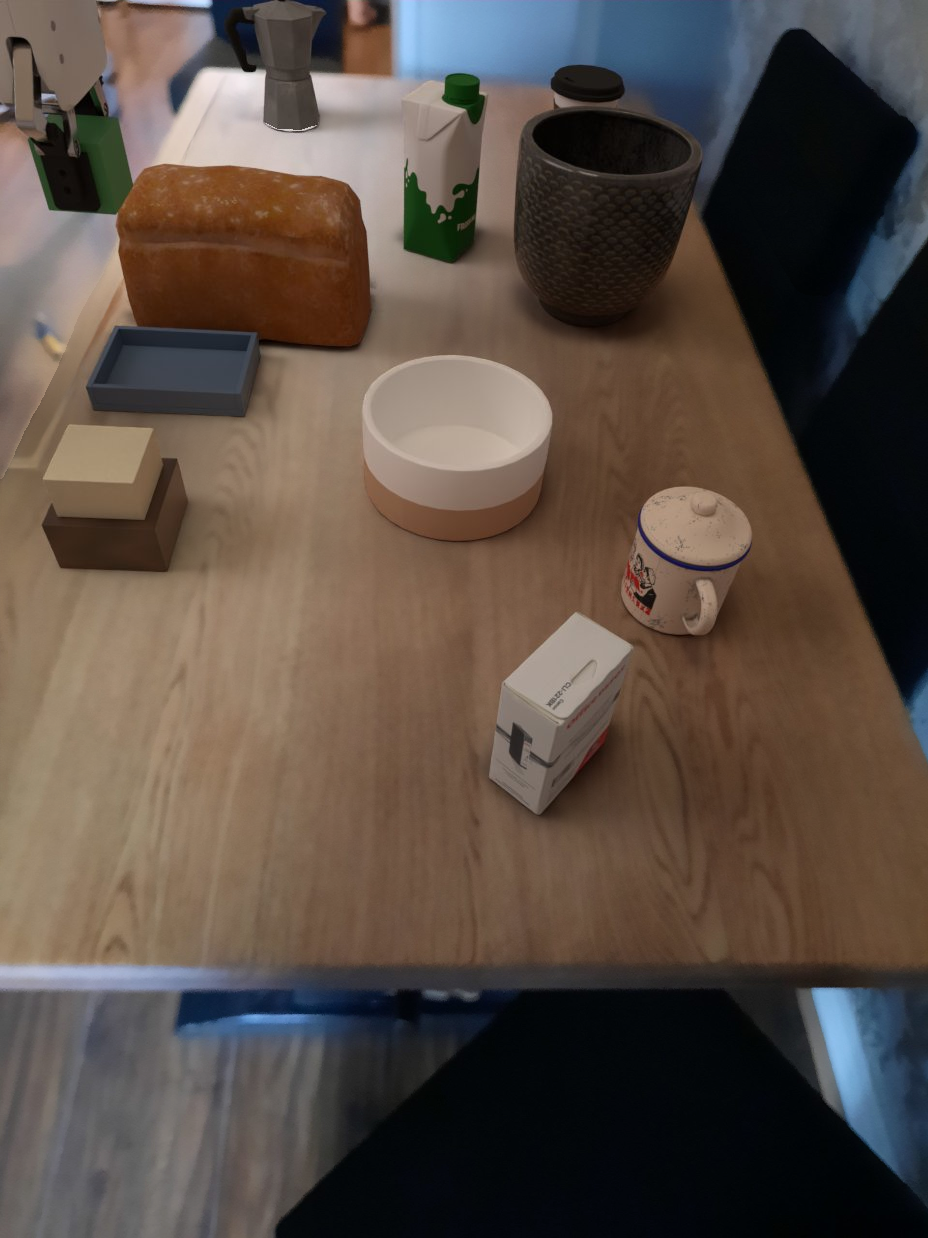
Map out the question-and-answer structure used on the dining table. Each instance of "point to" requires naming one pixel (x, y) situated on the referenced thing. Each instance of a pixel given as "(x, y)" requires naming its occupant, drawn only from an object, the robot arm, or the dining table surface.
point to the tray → (175, 371)
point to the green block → (96, 161)
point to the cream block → (104, 472)
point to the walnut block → (123, 531)
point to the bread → (246, 253)
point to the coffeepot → (281, 58)
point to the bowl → (455, 446)
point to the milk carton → (442, 165)
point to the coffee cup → (586, 86)
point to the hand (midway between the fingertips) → (89, 189)
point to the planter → (600, 208)
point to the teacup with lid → (684, 559)
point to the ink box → (557, 710)
